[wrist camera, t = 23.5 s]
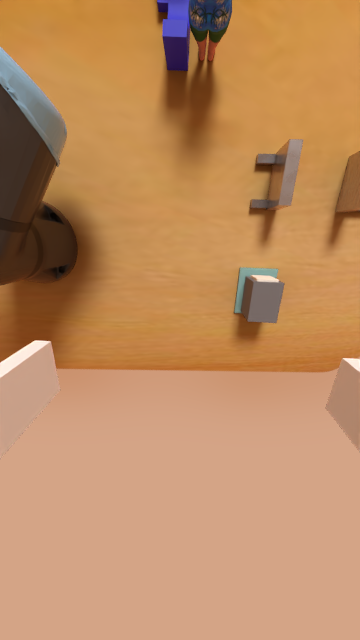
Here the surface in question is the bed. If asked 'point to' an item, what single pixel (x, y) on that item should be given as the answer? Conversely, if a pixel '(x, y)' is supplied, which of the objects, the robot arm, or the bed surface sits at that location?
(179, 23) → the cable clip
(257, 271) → the mat
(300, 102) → the bed surface
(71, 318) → the bed surface
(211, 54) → the toy character
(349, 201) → the channel
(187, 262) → the bed surface
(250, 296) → the grey rectangular block
